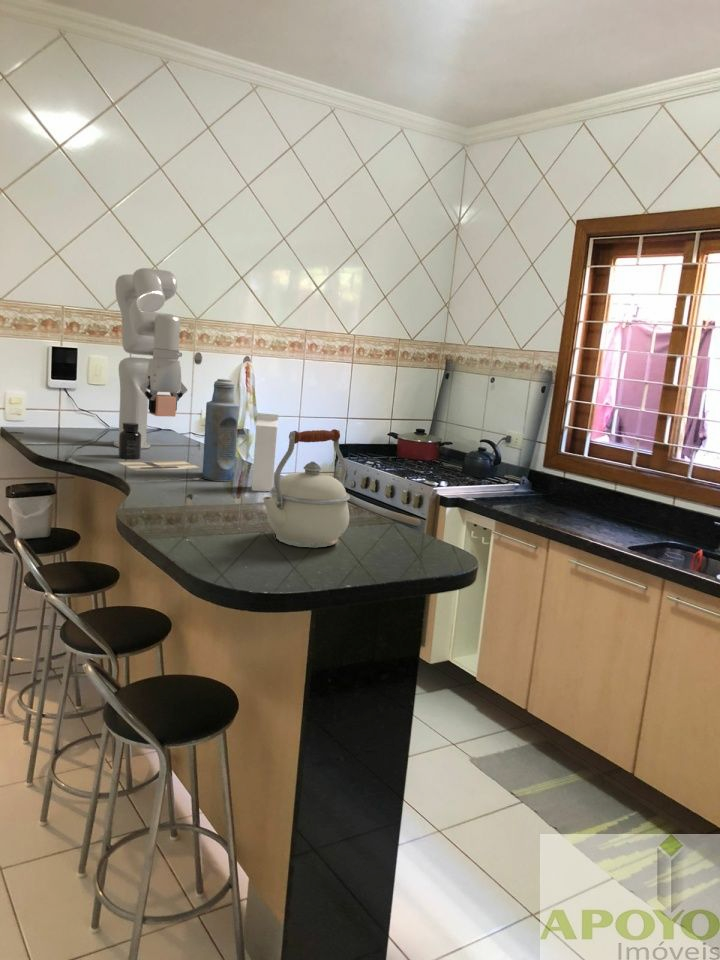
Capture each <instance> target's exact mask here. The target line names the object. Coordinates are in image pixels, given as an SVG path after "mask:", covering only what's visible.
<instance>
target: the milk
mask: <svg viewBox="0 0 720 960" xmlns="http://www.w3.org/2000/svg"><path fill="white" fill-rule="evenodd" d="M278 427H279V415H278V414H271V413H261V412H258V413H257V415H256V423H255V434H254V435H255V439H254V451H253V465H252V468H253V469H252V477H251V478H252V480H251V491H255V492H266V491H270V490H271V488H273V487H274V476H275V464H276V449H277V438H278Z"/></svg>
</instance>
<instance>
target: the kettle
mask: <svg viewBox="0 0 720 960" xmlns="http://www.w3.org/2000/svg"><path fill="white" fill-rule="evenodd" d="M288 439H289V441H288V443H289V444H288V447H287V450H286V452H285V454H284V456H283V457H282V459H281V460H280V461H279V464H278V465H277V467H276V469H275V470H274V477H273V485H274V486H273V488H271V490H270V493H271V495H272V496H264V497H262V500H263V504H264V506H265V510H266V511H267V512H266V518H267V522H268V524H269V526H270V527H271V529H272V531H273V532H274V533H275V534H276V536H277V537H279V538H280V539H284V540H287V541H293V542H302V543H324V542H330V541H333V540H336V539H338V538H340V536H342V535H343V534H344V532H345V531H346V530H347V529H348V527H349V523H350V511H349V504H348V501H349V500H350V498H351V496H350V494H349V493H347V491H346V488H345V486H344V482H345V481H346V480H345V479H346V474H347V464H346V461H345V459H344V456H343V454H342V451H341V450H340V439H341V433H340V429H339V430H338V429H335V428H334V429H331V430H326V429H320V430H319V429H318V430H314V429H313V430H304V431H297V430H293V431H292V430H291V431H289V435H288ZM328 441H332V442H333V450H334V451H335V453H336V456H337V458H338V460H339V463H340V475H339V479H336V478H335V477H333V476H331V475H328V474H324V473H320V471H322V468H321V466H320V465H319V464H318V463H317V462H315V461H310V462H309V463H307V464H305V465H304V466H303V469H304V471H297V472H293V473H288V474H286V475H284V476H282V477H281V473H282V471H283V469H284V467H285V465H286V464H287V462H288V460H289V459H290V458H291V456H292V454H293V452H294V449H295V444H298V443H299V442H300V443H322V442H323V443H324V442H328Z"/></svg>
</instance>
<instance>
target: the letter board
mask: <svg viewBox="0 0 720 960" xmlns="http://www.w3.org/2000/svg"><path fill="white" fill-rule="evenodd" d="M117 463H118V464H120V465H123V466H125V467H127V468H128V469H131V470H134V471H137V472H138V471H159V470H160V471H162V470H163V471H164V470H165V471H166V470H167V471H168V470H190V469H191V470H195V469H196V470H197V469H201V467H200V466H197V465H195V464H192V463H190V462H187V461H184V460H181V459H180V460H151V461H150V460H146V461H145V460H144V461H142V460H141V461H117Z"/></svg>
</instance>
